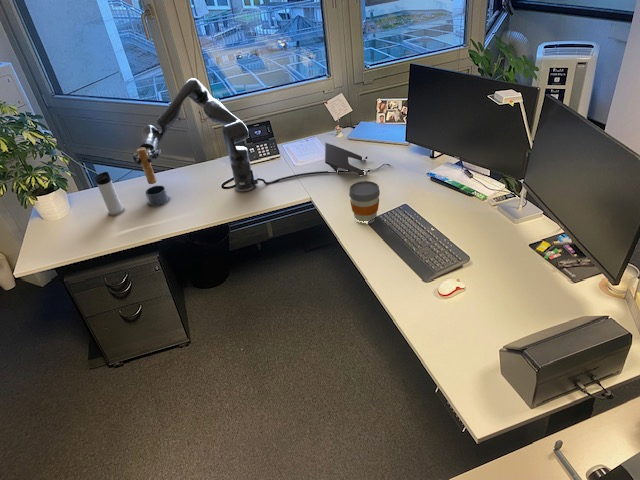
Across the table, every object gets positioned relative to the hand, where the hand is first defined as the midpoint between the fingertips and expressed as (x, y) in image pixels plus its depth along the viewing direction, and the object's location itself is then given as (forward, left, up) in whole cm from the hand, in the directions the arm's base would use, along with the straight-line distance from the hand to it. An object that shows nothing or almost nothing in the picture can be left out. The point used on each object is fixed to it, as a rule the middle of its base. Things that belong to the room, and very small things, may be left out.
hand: (143, 161), depth 211 cm
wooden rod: (-1, -3, -12) cm, 12 cm away
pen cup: (0, -3, -23) cm, 23 cm away
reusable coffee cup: (-83, +58, -23) cm, 104 cm away
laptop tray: (-94, +12, -23) cm, 98 cm away
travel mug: (+20, -3, -23) cm, 30 cm away
